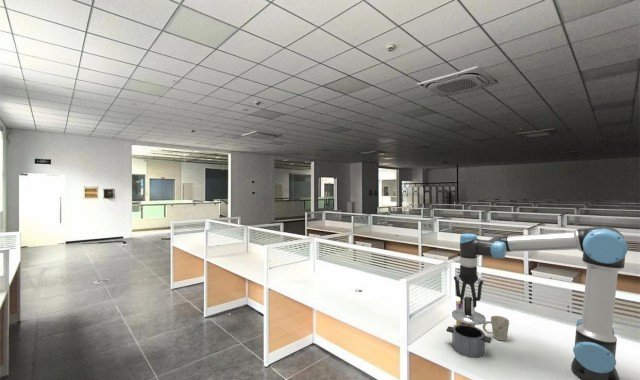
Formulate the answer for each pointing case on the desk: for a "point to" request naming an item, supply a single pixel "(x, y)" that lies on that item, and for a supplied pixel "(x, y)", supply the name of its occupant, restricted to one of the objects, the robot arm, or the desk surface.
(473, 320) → the lid
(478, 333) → the pot
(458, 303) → the candy box
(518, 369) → the desk surface
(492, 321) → the mug
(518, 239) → the robot arm
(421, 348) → the desk surface
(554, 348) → the desk surface
